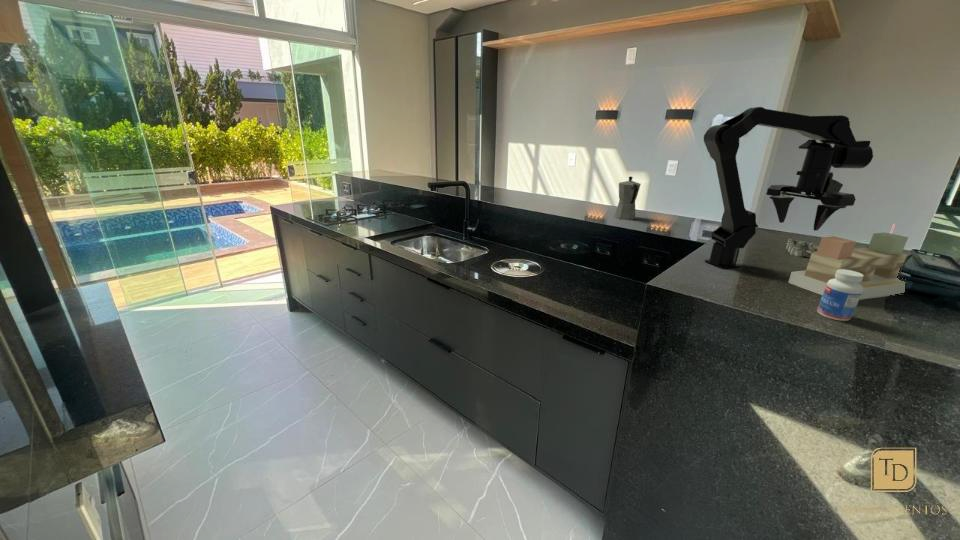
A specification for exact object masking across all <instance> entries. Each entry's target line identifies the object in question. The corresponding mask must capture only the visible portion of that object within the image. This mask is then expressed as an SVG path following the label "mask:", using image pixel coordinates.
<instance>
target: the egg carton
mask: <svg viewBox="0 0 960 540" xmlns="http://www.w3.org/2000/svg"><path fill="white" fill-rule="evenodd" d="M818 248H819V245H814V243H813V242H810V243H807V241H806V240H805V241H802V240H798V239H792V238H790V237H788V239H787V244H786V248H785V249H786V250H788V253H790V255H791V256H794V255H795V256H794V257H798V256H799V257H798V258H800V257H804V256H805V257H806V258H809V259H810V257H811V254H812V252H817V250H818Z"/></svg>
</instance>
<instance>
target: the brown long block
mask: <svg viewBox="0 0 960 540" xmlns="http://www.w3.org/2000/svg"><path fill="white" fill-rule="evenodd" d="M816 253H817V252H812V254H811V257H810V258H809V259H808V263H807V266H806V269H805V270H806V272H805V276H808V277H810V278H813V279H816V280H819V281H822V282H825V283H827V282H828V281H829V280H831V279H835V278H836V277H835V274H836V272H837V270H839V269H845V270H851V271H856V272H859V273H861V274H863V275H864V276H863V279H862V281H861V282H865V281H871V279H872V276H873V274H874V275H877V276H881V277H884V278H888V279H891V278H897V276H898V277H899V275H898V273H899V274H900V272H899V270H900V267H901V266H902V267H903V265H904V262H905V261H906V258H907V256H908V254H907V253H903V252H902V253H898V254H887V253H882V252H878V251H874V250H870V249H868V247H867V246H866V247H854V250H853V252H852V255H851V258H847V259H834V258H831V257H827V256H823V255H820V254H816ZM900 271H901V270H900Z"/></svg>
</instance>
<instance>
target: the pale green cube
mask: <svg viewBox="0 0 960 540" xmlns="http://www.w3.org/2000/svg"><path fill="white" fill-rule="evenodd" d="M908 239H909V236H903V235H899V234H894V233H892V234H890V232H875V233H873V234H872V236H871V239H870V242H869V243H868V249H870V250H874V251H878V252H882V253H887V254H898V253H903V251H904V249H905V246H906V243H907V241H908Z"/></svg>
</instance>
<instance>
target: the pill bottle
mask: <svg viewBox="0 0 960 540" xmlns="http://www.w3.org/2000/svg"><path fill="white" fill-rule="evenodd" d="M863 276H864V275H863V274H861V273H859V272H856V271H851V270H845V269H839V270H837V272H836V274H835V277H836V278H835V279H831V280H829V281H828V282H827V285H826V287H825V290H824V293H823V295H821V299H820V300H819V304H818V307H817V309H816V312H817V313H818V314H819V315H821V316H823V317H824V318H827V319H830V320H836V321H842V322H846V321H847V322H848V321H849V320H851V319H852V317H853V315H854V313H855V311H856V309H857V305H858V303H859V301H860V300H859V299H860V296H861V294H862V291H863V287H862V286H861V285H860V284H859V283H860V282H861V281H862V279H863Z"/></svg>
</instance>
